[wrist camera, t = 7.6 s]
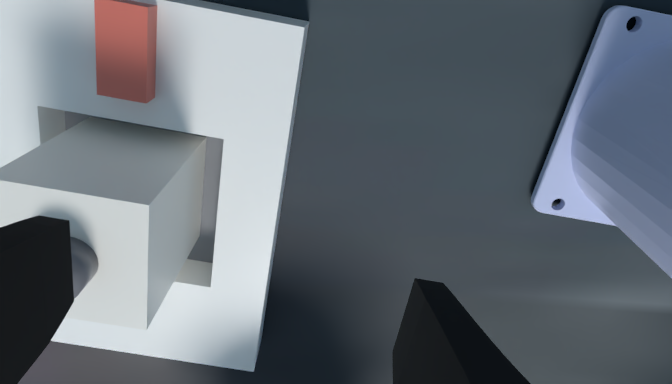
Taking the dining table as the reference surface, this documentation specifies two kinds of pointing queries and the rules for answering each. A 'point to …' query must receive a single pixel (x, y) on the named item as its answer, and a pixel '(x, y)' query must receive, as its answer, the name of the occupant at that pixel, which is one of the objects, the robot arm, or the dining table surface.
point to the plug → (114, 211)
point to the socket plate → (179, 116)
